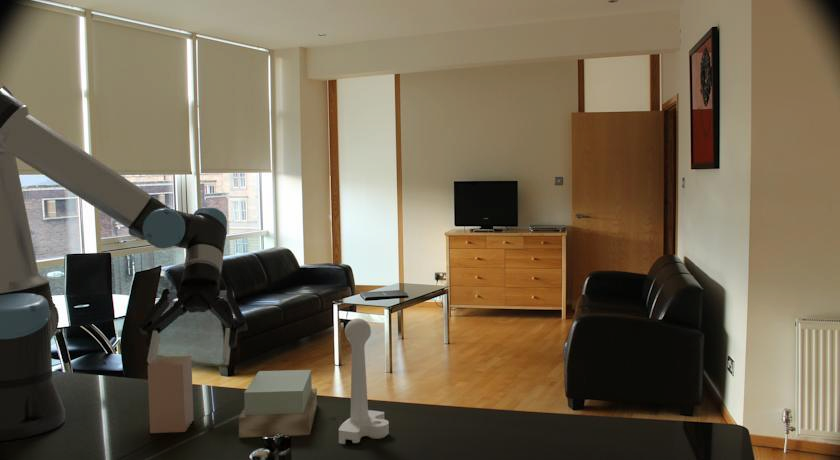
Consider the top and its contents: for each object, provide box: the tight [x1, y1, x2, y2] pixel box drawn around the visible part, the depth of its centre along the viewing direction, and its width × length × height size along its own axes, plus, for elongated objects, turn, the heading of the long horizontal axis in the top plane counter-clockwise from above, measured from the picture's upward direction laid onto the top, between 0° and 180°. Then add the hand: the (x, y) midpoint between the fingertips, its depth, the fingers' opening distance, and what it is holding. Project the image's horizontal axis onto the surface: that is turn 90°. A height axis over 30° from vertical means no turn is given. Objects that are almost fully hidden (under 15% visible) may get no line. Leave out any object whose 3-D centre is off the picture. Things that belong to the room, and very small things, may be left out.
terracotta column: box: [147, 355, 195, 434], centre depth 125 cm, size 6×6×12 cm
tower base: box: [238, 388, 318, 438], centre depth 128 cm, size 12×16×4 cm
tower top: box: [243, 369, 313, 415], centre depth 128 cm, size 10×14×4 cm
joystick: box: [338, 318, 390, 445], centre depth 120 cm, size 11×8×20 cm
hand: (188, 363), depth 131 cm, fingers open, 13 cm apart
